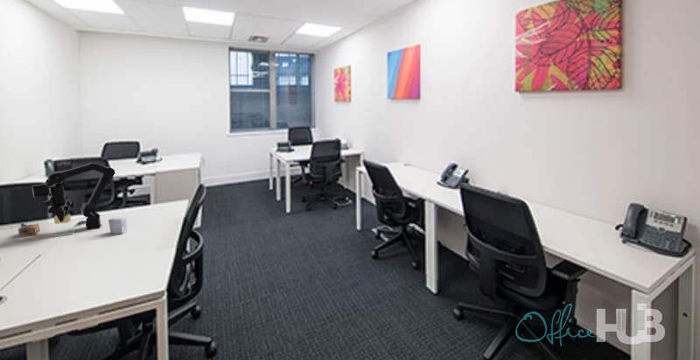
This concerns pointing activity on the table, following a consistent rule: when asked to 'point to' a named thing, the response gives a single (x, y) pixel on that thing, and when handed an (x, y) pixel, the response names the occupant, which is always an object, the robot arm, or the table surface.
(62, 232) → the glass plate
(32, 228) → the plane block
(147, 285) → the table surface
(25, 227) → the lever
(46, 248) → the table surface
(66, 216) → the brass block
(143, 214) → the table surface
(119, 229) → the medicine box
